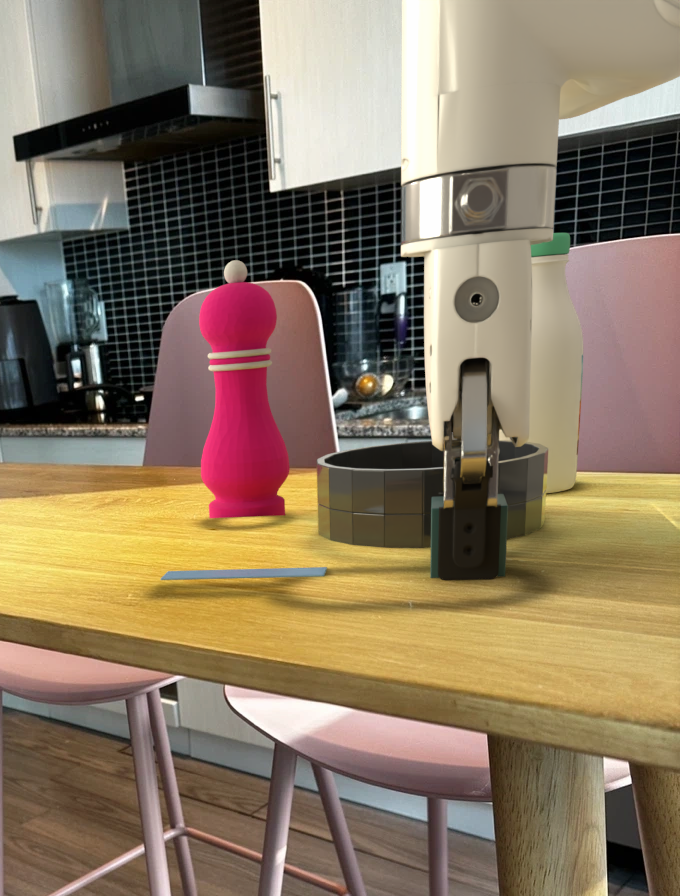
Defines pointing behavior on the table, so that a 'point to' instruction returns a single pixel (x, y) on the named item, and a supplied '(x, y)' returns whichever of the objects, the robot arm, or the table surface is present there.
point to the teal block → (435, 506)
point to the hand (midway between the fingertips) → (466, 565)
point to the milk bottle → (555, 364)
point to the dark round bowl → (416, 492)
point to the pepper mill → (241, 402)
